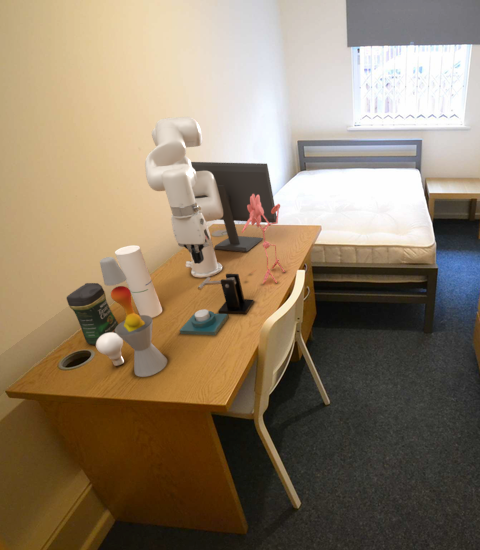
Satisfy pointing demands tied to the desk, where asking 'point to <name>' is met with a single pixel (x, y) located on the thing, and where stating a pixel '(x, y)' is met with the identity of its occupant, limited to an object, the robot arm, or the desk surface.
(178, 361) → the desk surface
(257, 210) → the figurine
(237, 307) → the lever bracket
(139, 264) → the cylindrical container
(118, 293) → the lava lamp
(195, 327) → the plate
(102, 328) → the coffee jar
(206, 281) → the flush lever
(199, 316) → the flush button
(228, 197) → the computer monitor
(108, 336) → the lightbulb
